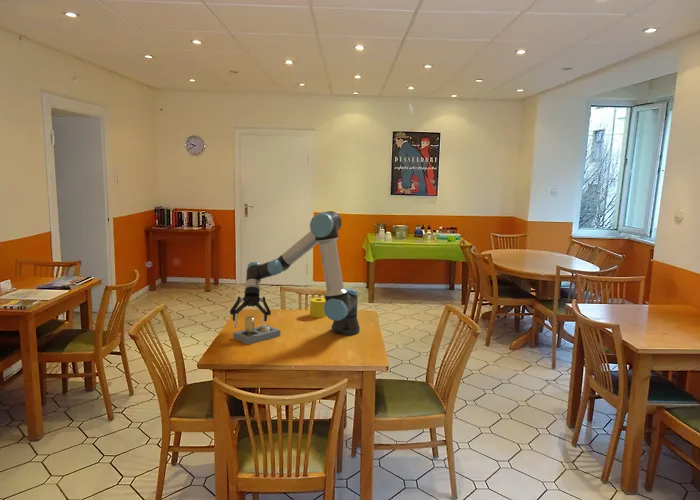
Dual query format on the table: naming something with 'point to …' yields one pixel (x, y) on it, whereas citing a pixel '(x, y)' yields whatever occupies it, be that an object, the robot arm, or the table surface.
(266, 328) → the wooden plug
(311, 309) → the tape roll
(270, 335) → the jig plate
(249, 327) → the brass cylinder
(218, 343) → the table surface
